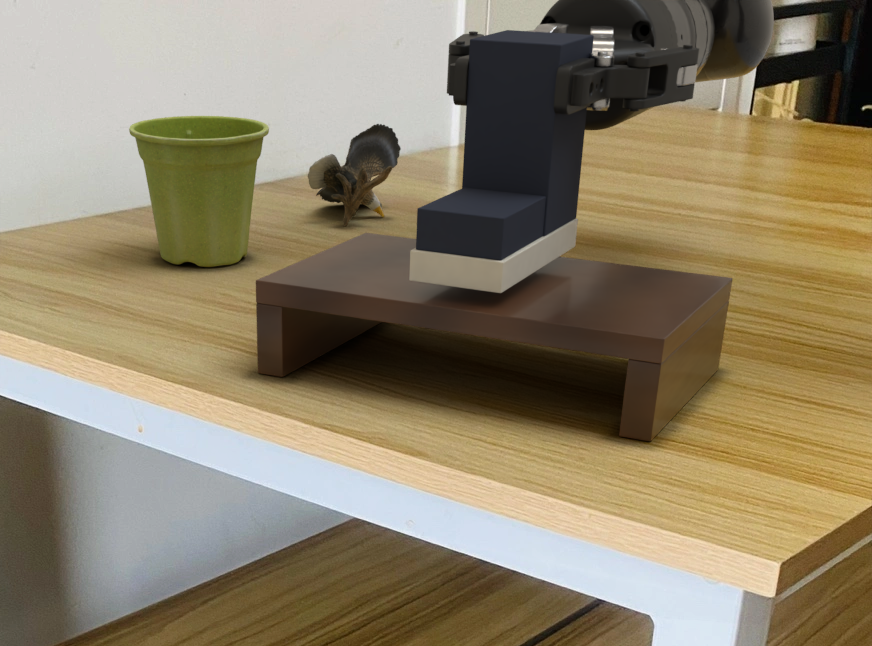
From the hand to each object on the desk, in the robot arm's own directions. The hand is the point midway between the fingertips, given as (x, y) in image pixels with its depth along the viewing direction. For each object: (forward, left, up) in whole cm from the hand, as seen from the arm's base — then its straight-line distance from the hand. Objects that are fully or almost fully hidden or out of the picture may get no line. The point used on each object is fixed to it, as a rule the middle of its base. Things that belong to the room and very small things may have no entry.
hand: (511, 86), depth 68 cm
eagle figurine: (+12, -39, -14) cm, 43 cm away
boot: (0, 0, -8) cm, 9 cm away
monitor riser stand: (0, 0, -14) cm, 14 cm away
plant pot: (+21, -23, -14) cm, 34 cm away
